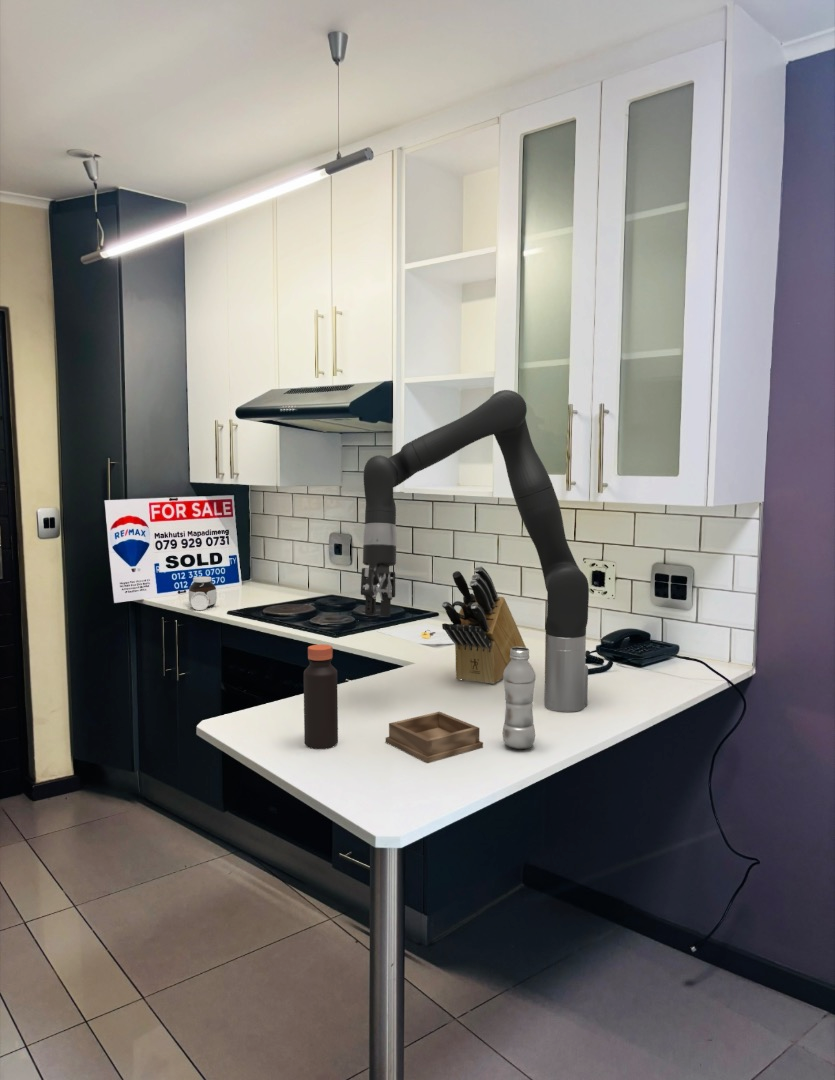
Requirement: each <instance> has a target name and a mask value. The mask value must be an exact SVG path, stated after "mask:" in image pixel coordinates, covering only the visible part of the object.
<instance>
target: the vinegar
mask: <svg viewBox="0 0 835 1080" xmlns="http://www.w3.org/2000/svg"><path fill="white" fill-rule="evenodd" d="M333 651H334V649H333V646H332V645H329V644H312V645H309V646H308V647H307V659H308V662H309V665H308V666H307V667H306V668H305V669H304V671H303V721H304V723H303V725H304V727H303V728H304V729H303V731H304V732H303V733H304V737H303V738H304V739H303V741H304V745H305V747H307V748H309V749H312V748H313V749H312V750H326V748H327V749H331V748H333V746H334V747H335V746H337V744H339V743H338V742H339V721H338V720H339V716H338V715H339V713H338V711H339V709H338V708H339V707H338V702H339V701H338V700H339V699H338V698H339V697H338V670H337V668H336V667H334V666H333V665H332V661H333V654H334V653H333Z"/></svg>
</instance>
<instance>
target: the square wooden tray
mask: <svg viewBox="0 0 835 1080" xmlns="http://www.w3.org/2000/svg"><path fill="white" fill-rule="evenodd" d="M386 742H387V743H386ZM385 743H386V744H388V743H389V744H388V745H390V744H391V745H390V746H391V747H394V746H395V747H394V748H396V749H398V750H400V751H402V752H404V753H406V754H408V755H410V756H412V757H414V758H416V759H419V760H420V761H421V762H424V763H426V764H428V763H432V762H436V761H440V760H443V759H447V758H451V757H453V756H454V757H455V756H457V755H460V754H461V755H462V754H464V753H469V752H471V751H476V750H478V749H483V748H484V742H482V741H481V740H480V727H478V726H476V725H473V724H472V723H469V722H467V721H463V720H462V719H459V718H456V717H454V716H451V715H450V714H449V715H448V714H446V713H444V712H441V711H436V712H432V713H428V714H427V713H426V714H424V715H420V716H414V717H411V718H407V719H402V720H397V721H393V722H390V723H388V736H387V737H385Z"/></svg>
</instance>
